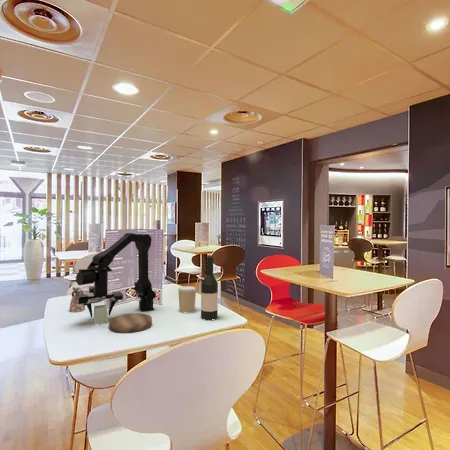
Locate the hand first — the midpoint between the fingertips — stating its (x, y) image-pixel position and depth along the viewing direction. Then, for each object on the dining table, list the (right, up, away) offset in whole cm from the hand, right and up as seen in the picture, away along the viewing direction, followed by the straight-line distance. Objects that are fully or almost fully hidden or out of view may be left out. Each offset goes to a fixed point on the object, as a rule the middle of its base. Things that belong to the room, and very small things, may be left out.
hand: (100, 316), depth 138 cm
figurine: (-19, -3, +18) cm, 26 cm away
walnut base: (+15, -3, -5) cm, 16 cm away
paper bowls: (-22, -3, +38) cm, 44 cm away
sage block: (0, -3, 0) cm, 3 cm away
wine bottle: (+49, -3, +8) cm, 50 cm away
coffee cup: (+37, -3, +20) cm, 42 cm away
